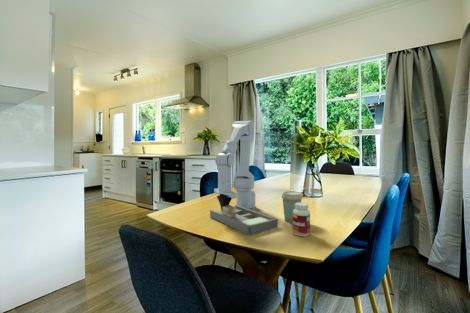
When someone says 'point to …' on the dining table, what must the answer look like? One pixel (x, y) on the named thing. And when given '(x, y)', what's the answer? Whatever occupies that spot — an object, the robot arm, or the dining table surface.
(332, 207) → the dining table surface
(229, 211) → the birch block
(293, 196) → the coffee cup
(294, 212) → the pill bottle
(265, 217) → the box
